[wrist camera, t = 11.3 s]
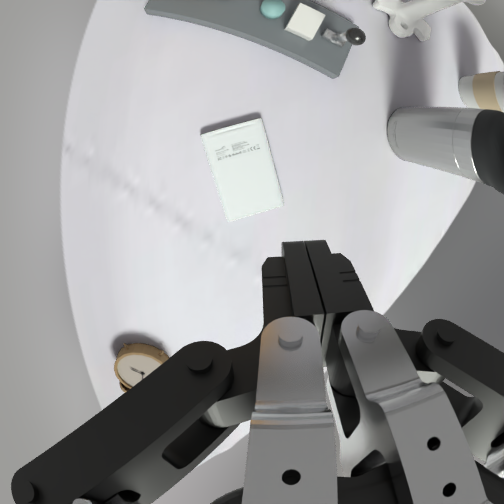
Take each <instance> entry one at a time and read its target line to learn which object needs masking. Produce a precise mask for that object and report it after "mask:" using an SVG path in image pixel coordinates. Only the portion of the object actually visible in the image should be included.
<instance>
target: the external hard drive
mask: <svg viewBox="0 0 504 504" xmlns="http://www.w3.org/2000/svg"><path fill="white" fill-rule="evenodd" d="M200 136H201V139H202V142H203V146H204V149H205V152H206V156H207V159H208V162H209V166H210V169H211V172H212V175H213V179H214V182H215V185H216V188H217V191H218V195H219V198H220V201H221V204H222V207H223V210H224V213H225V217H226V220H227V222H231V221H235V220H238V219H241V218H244V217H248V216H251V215H254V214H258V213H261V212H265V211H268V210H271V209H275V208H278V207H281V206H284V202H283V198H282V194H281V190H280V186H279V182H278V178H277V174H276V170H275V166H274V163H273V159H272V155H271V151H270V147H269V144H268V140H267V136H266V133H265V129H264V125H263V122H262V118H259V119H254V120H251V121H247V122H243V123H239V124H236V125H232V126H228V127H225V128H221V129H218V130H214V131H211V132H208V133H205V134H201V135H200Z"/></svg>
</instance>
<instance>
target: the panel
mask: <svg viewBox="0 0 504 504" xmlns="http://www.w3.org/2000/svg"><path fill="white" fill-rule="evenodd" d="M263 1H264V0H149V2H148V3H147V5H146V6H145V8H144V10H145V11H146V13H147V14H149V15H156V16H161V17H167V18H172V19H177V20H181V21H186V22H190V23H194V24H198V25H202V26H206V27H209V28H213V29H216V30H220V31H223V32H226V33H229V34H232V35H235V36H238V37H241V38H244V39H247V40H250V41H252V42H255V43H258V44H260V45H263V46H265V47H268V48H270V49H273V50H275V51H277V52H280V53H282V54H284V55H286V56H289V57H291V58H293V59H295V60H297V61H299V62H301V63H303V64H306V65H308V66H310V67H312V68H313V69H315V70H317V71H319V72H321V73H323V74H325V75H327V76H329V77H330V78H332V79H334V78H336V77H339V75H340V72H341V70H342V68H343V65H344V63H345V60H346V58H347V56H348V53H349V51H350V48H351V46H352V44H351V43H349V42H348V41H346V43H345V44H344V46H343V47H339V46H337V45H336V44H334V43H332V42H330V41H328V40H327V39H325V38H323V37H321V36H322V33H323V32H324V30H325V29H326V28H327V29H329V30H331V31H333V32H335V33H344V32H346V31H347V30H348V29H349V28H352V27H356V28H359V27H358V26H356V25H355V24H353V23H352V22H350V21H348V20H346V19H345V18H343V17H341V16H339V15H338V14H336V13H334V12H332V11H330V10H328V9H327V8H325V7H323V6H321V5H319V4H317V3H315V2H313V1H310V0H281V1H282V2H283V3H284V4H285V11H284V12H283V14H282V15H281V17H279V18H277V19H268V18H265V17H264V16H263V15H262V14H261V13H260V7H261V5H262V2H263ZM300 3H302V4H304V5H306V6H309V7H311V8H313V9H315V10H317V11H319V12H321V13H323V14H325V17H324V19H323V21H322V23H321V25H320V26H319V28H318V30H317V32H316V34H315V36H314V38H313V39H312V40H310V41H308V40H306V39H304V38H302V37H300V36H298V35H295V34H293V33H291V32H289V31H286V30H284V29H285V27H286V25H287V24H288V22H289V20H290V18H291V16H292V15H293V13H294V11H295V9H296V7H297V6H298V5H299V4H300Z"/></svg>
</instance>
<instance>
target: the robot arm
mask: <svg viewBox="0 0 504 504" xmlns="http://www.w3.org/2000/svg"><path fill="white" fill-rule="evenodd" d="M387 135H388V140H389V143H390V146H391V148H392V150H393V152H394V153H395V154H396V155H397V156H398V157H399V158H400V159H402V160H404V161H408V162H412V163H416V164H420V165H423V166H427V167H431V168H435V169H438V170H442V171H445V172H449V173H452V174H456V175H459V176H462V177H465V178H468V179H472V180H475V181H478V182H481V183H483V184H486V185H489V186H492V187H494V188H495V189H496V190H497V191H499V192H501V193H503V194H504V113H503V112H501V111H498V110H490V109H476V108H458V107H403V108H399V109H397V110H396V111H395V112H394V113H393V114H392V115H391V117H390V119H389V122H388V127H387ZM262 286H263V314H264V325H263V329H262V331H261V333H260V334H259V335H258V336H257V337H256V338H255V339H254V340H253V341H251V342H250V343H248V344H246V345H243V346H240V347H237V348H234V349H230V350H226V349H225V348H224V347H222V346H221V345H219V344H217V343H214V342H209V341H198V342H194V343H191V344H188V345H186V346H184V347H183V348H182V349H180V350H179V351H178V352H176V353H175V354H174V355H173V356H171V357H170V358H169V359H168V360H166V361H165V362H164V363H163V364H161V365H160V366H159V367H158V368H156V369H155V370H154V371H153V372H151V373H150V374H149V375H147V376H146V377H145V378H144V379H142V380H141V381H140V382H138V383H137V384H136V385H135V386H133V387H132V388H131V389H129V390H128V391H127V392H126V393H124V394H123V395H122V396H120V397H119V398H118V399H116V400H115V401H114V402H112V403H111V404H110V405H108V406H107V407H106V408H104V409H103V410H102V411H101V412H99V413H98V414H96V415H95V416H94V417H92V418H91V419H90V420H88V421H87V422H86V423H84V424H83V425H82V426H80V427H79V428H77V429H76V430H75V431H73V432H72V433H71V434H69V435H68V436H66V437H65V438H64V439H62V440H61V441H59V442H58V443H57V444H55V445H54V446H52V447H51V448H49V449H48V450H47V451H45V452H44V453H42V454H41V455H39V456H38V457H36V458H35V459H34V460H32V461H31V462H29V463H28V464H26V465H25V466H23V467H22V468H20V469H19V470H18V471H17V472H16V473H15V474H14V476H13V479H12V483H11V490H12V495H13V499H14V501H15V503H16V504H151V503H153V502H154V501H155V500H156V499H158V498H159V497H160V496H161V495H163V494H164V493H165V492H166V491H168V490H169V489H170V488H172V487H173V486H174V485H175V484H176V483H178V482H179V481H180V480H181V479H182V478H184V477H185V476H186V475H187V474H188V473H189V472H190V471H192V470H193V469H194V468H195V467H196V466H197V465H198V464H199V463H201V462H202V461H203V460H204V459H205V458H206V457H207V456H208V455H209V454H210V453H211V452H212V451H213V450H215V449H216V448H217V447H218V446H219V445H220V444H221V443H222V442H223V441H224V440H225V439H226V438H227V437H228V436H229V435H230V434H231V433H232V432H233V431H234V430H235V429H236V428H237V427H238V426H239V424H240V423H242V422H245V421H248V420H251V423H250V432H249V443H248V452H247V461H246V470H245V480H244V487H243V488H240V489H236V490H234V491H232V492H229V493H227V494H225V495H223V496H221V497H220V498H218V499H216V500H215V501H214V502H212V503H210V504H504V353H503V352H501V351H499V350H498V349H496V348H494V347H493V346H491V345H489V344H488V343H486V342H484V341H483V340H481V339H479V338H478V337H476V336H474V335H473V334H471V333H469V332H468V331H466V330H464V329H462V328H461V327H459V326H457V325H456V324H454V323H452V322H450V321H447V320H443V319H435V320H431V321H429V322H428V323H427V324H426V325H425V326H424V328H423V330H422V332H416V331H406V330H399V329H395V328H393V326H392V324H391V323H390V321H389V320H388V319H387V318H386V317H384V316H383V315H381V314H380V313H377V312H374V310H373V308H372V306H371V303H370V301H369V299H368V297H367V295H366V292H365V290H364V288H363V286H362V284H361V282H360V281H359V278H358V276H357V274H356V273H355V269H354V267H353V265H352V263H351V261H349V260H348V259H347V258H346V257H345V256H343V255H342V254H341V253H336V254H331V251H330V249H329V247H328V245H327V242H326V241H325V240H313V241H304V242H303V241H295V242H282V257H268V258H267V259H266V261H265V262H264V264H263V265H262ZM323 367H327V370H328V375H329V377H328V381H327V392H328V396H329V399H330V403H331V407H332V411H333V414H334V418H335V422H336V426H337V430H338V434H339V438H340V463H341V468H342V472H343V477H337V464H336V445H335V430H334V420H333V415H332V412H331V410H330V409H328V407H327V403H326V393H325V381H324V371H323ZM445 378H446V379H448V380H449V381H451V382H452V383H454V384H456V385H457V386H459V387H460V388H462V389H464V390H465V391H467V392H468V393H470V394H472V395H473V396H474V397H467V396H464V395H463V394H461V393H460V392H458V391H456V390H455V389H453V388H452V387H450V386H449V385H447V384H446V383H444V382H442V381H443V380H444V379H445ZM473 455H474V456H476V457H478V458H479V459H481V460H482V461H484V462H486V463H484V464H483V465H481V464H480V463H478V462H477V461H475V460H474V458H473Z"/></svg>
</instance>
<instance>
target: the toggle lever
mask: <svg viewBox="0 0 504 504" xmlns="http://www.w3.org/2000/svg"><path fill="white" fill-rule="evenodd" d="M321 37H323V38H325V39H327V40H328V41H330V42H332V43H334V44H336V45H337V46H339V47H343V46H344V44H345V43H346V41H348V42H349V43H351V44H353V45H361V44H363V43H364V42H365V39H366V36H365V33H364V32H363V31H362V30H361V29H359V28H356V27H352V28H349V29H348V30H347V31H346V32H344V33H335V32H333V31H331V30H329V29H327V28H326V29H325V30H324V32H323V33H322V36H321Z"/></svg>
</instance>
